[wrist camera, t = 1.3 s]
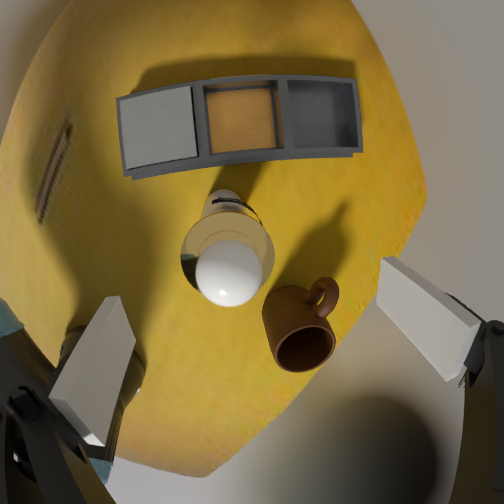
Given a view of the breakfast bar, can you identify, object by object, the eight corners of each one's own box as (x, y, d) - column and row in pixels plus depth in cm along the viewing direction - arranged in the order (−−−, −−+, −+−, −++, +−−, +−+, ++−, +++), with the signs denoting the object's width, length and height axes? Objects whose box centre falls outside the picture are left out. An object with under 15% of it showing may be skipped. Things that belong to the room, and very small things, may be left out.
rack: (135, 179, 29) (120, 184, 24) (127, 99, 25) (111, 91, 21) (348, 156, 31) (369, 158, 26) (341, 81, 27) (360, 72, 22)
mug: (288, 246, 34) (311, 279, 25) (336, 264, 36) (368, 298, 27) (252, 322, 38) (262, 368, 29) (298, 333, 39) (317, 377, 31)
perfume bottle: (234, 238, 33) (255, 349, 14) (191, 219, 32) (155, 313, 13) (256, 196, 31) (311, 262, 13) (212, 175, 30) (199, 209, 11)
